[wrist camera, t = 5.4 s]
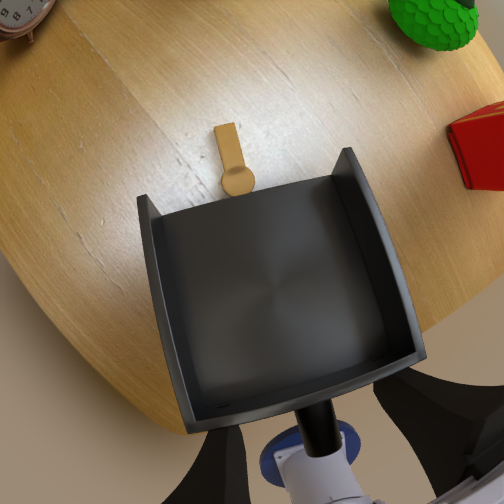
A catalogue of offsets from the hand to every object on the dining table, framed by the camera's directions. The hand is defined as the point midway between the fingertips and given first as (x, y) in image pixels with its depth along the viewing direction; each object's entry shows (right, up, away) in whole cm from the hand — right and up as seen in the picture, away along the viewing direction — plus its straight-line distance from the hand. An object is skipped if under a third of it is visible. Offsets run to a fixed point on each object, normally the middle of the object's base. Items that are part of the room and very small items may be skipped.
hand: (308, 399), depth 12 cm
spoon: (-4, +13, +8) cm, 15 cm away
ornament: (+12, +27, +7) cm, 31 cm away
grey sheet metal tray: (-1, +4, +2) cm, 4 cm away
